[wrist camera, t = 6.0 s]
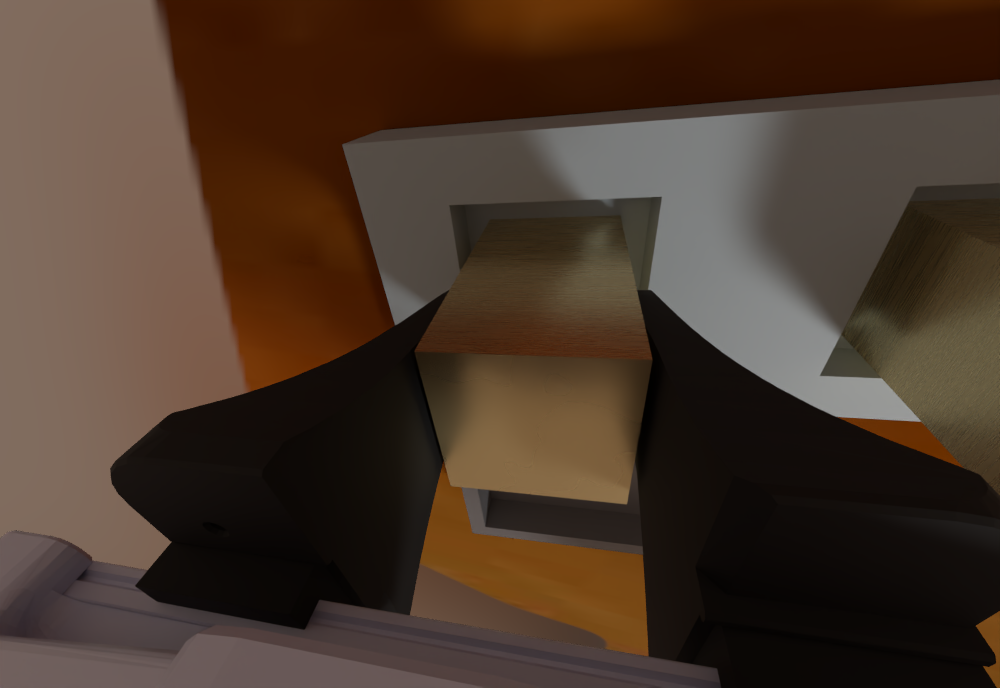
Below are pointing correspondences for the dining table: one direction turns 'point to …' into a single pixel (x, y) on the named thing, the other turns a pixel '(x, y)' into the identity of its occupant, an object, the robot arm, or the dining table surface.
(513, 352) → the block
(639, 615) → the dining table surface
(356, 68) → the dining table surface
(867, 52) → the dining table surface
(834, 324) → the grey pocketed tray
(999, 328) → the block
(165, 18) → the dining table surface
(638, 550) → the grey shallow rectangular tray
